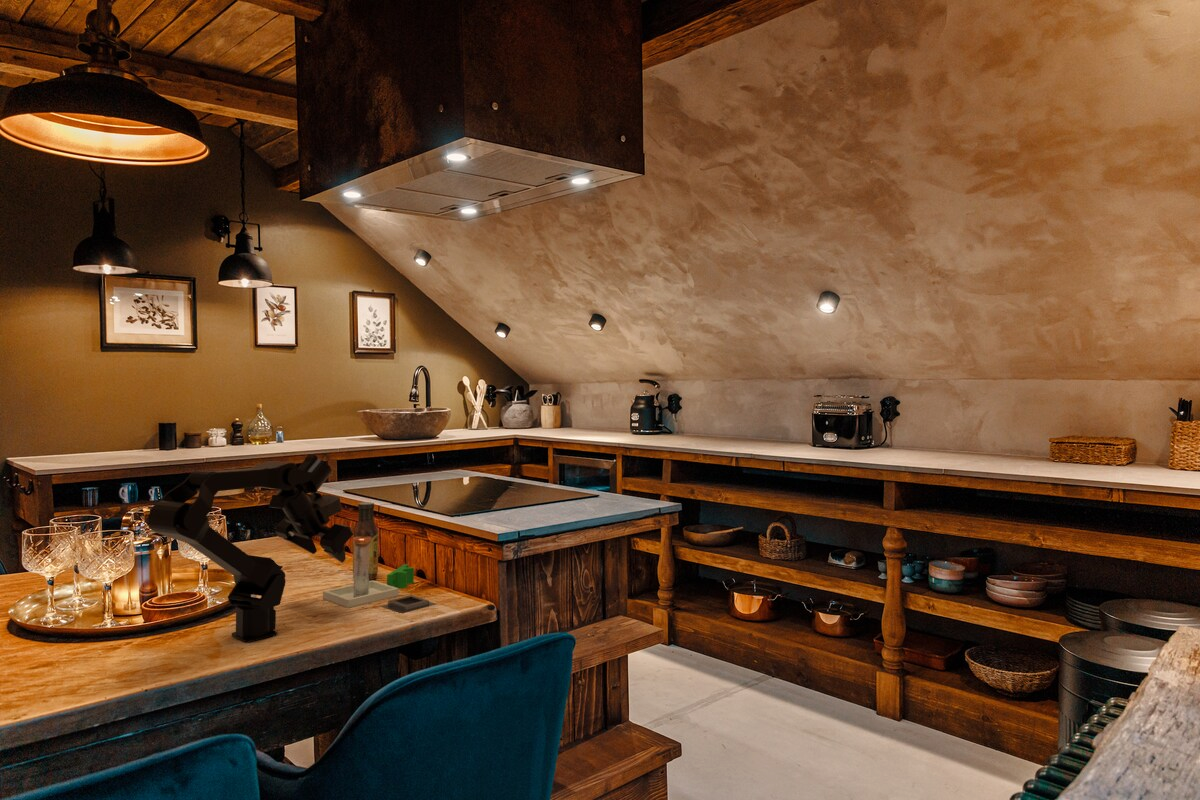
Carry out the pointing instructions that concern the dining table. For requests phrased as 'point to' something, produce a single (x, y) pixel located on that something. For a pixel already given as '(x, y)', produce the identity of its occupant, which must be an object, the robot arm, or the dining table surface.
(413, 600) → the collar block
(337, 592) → the tray
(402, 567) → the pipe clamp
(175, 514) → the robot arm
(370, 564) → the sauce bottle
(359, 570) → the hitch pin
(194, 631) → the dining table surface
